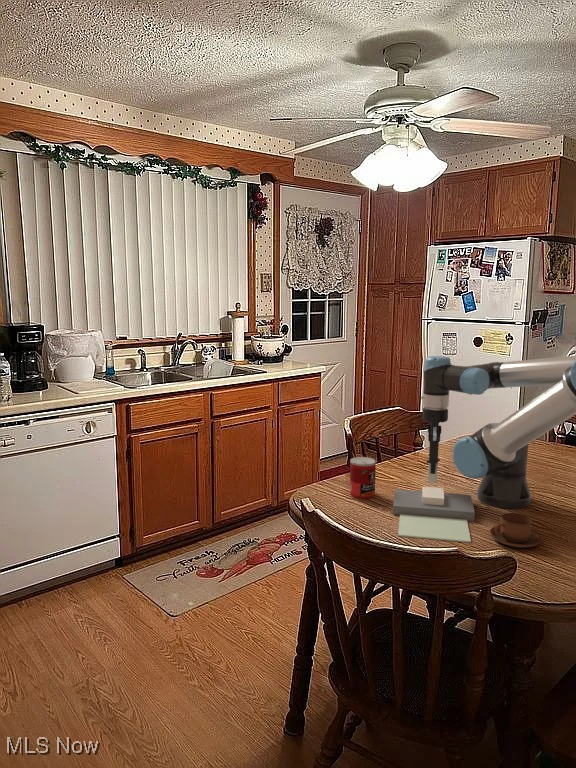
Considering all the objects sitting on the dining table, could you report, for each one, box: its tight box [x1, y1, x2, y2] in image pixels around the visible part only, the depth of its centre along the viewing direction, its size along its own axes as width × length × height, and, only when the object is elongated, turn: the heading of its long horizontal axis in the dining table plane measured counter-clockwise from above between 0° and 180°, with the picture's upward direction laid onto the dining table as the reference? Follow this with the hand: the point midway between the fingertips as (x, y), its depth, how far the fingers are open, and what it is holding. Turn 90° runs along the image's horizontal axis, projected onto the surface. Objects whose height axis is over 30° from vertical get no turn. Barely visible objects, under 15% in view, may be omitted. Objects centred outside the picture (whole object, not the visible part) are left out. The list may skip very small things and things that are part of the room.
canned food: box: [349, 456, 377, 500], centre depth 178 cm, size 8×8×11 cm
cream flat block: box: [421, 486, 445, 505], centre depth 168 cm, size 9×6×2 cm, turn 167°
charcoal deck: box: [392, 488, 476, 522], centre depth 167 cm, size 22×14×2 cm, turn 77°
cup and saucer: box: [489, 512, 542, 549], centre depth 146 cm, size 12×12×6 cm
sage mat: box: [397, 514, 472, 543], centre depth 154 cm, size 18×14×1 cm
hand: (432, 482), depth 178 cm, fingers closed
